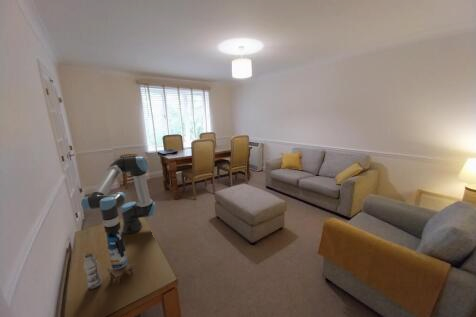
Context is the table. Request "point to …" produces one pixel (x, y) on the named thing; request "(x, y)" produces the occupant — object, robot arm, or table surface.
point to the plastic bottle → (92, 271)
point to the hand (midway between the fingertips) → (118, 258)
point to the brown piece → (120, 271)
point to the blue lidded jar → (115, 253)
